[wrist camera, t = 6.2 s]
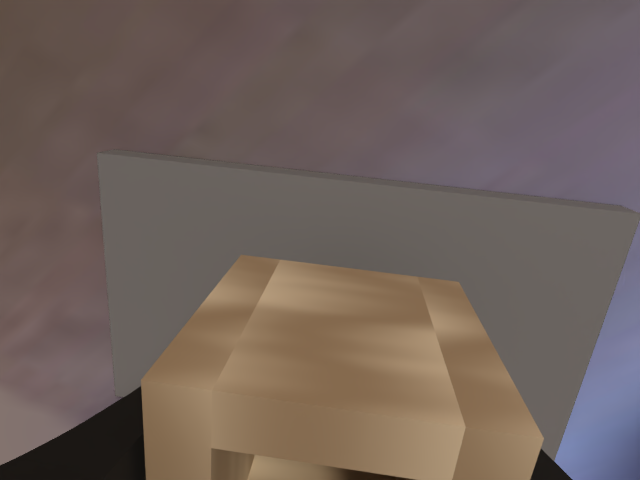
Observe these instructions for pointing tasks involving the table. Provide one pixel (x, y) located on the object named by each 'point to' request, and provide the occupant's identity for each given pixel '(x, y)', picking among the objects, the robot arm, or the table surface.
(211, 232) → the grey peg stand
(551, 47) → the table surface
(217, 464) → the bead
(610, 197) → the table surface
